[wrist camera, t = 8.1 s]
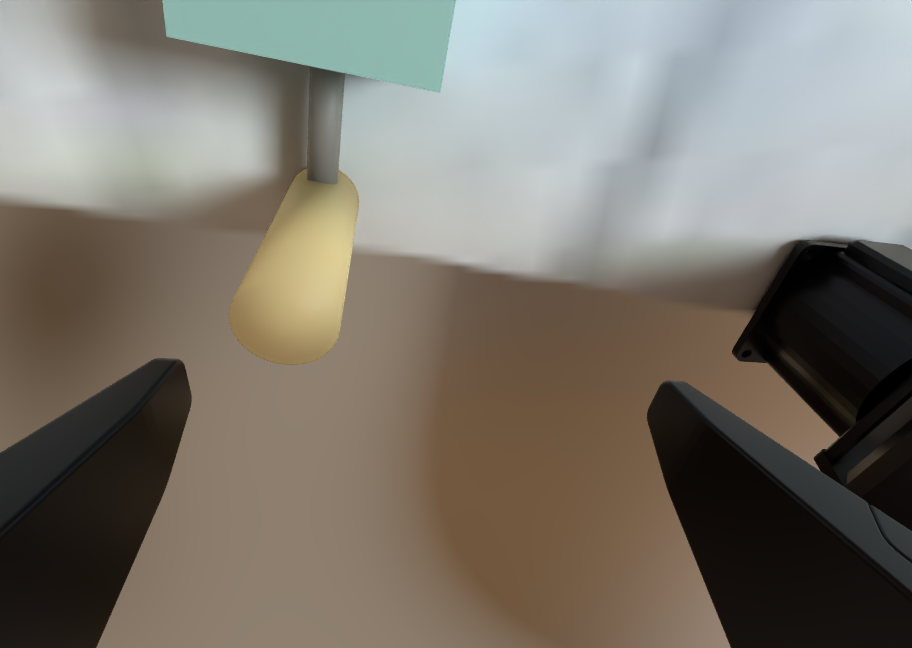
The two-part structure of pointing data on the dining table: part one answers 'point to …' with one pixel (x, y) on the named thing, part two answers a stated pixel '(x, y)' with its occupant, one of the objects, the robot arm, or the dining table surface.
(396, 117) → the dining table surface
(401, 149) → the dining table surface
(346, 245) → the teal cube mallet
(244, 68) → the dining table surface
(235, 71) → the dining table surface
